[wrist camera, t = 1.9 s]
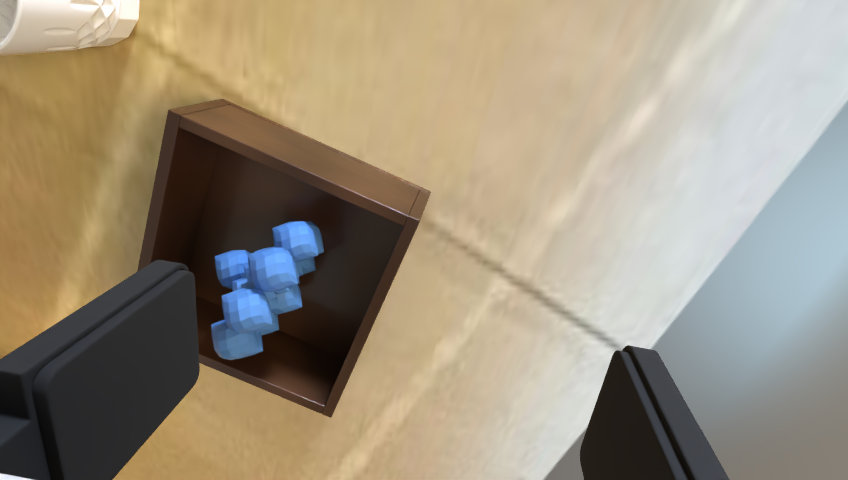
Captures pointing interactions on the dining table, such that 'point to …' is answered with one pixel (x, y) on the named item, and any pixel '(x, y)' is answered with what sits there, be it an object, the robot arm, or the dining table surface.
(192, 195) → the brown wooden box
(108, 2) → the white cup
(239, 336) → the grapes
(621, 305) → the dining table surface
